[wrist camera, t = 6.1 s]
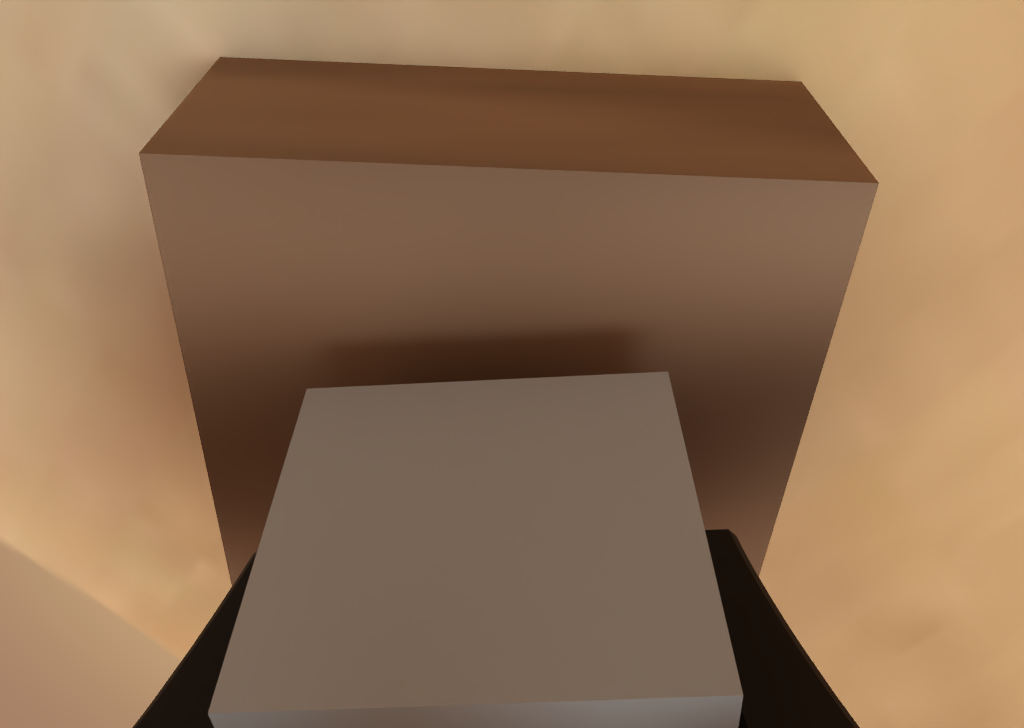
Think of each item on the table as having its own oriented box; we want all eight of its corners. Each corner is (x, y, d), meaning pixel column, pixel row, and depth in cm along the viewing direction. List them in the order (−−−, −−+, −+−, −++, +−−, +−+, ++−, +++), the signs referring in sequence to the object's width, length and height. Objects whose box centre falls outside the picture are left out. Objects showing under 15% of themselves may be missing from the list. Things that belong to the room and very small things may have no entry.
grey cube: (656, 607, 14) (707, 932, 10) (363, 618, 14) (310, 941, 10) (667, 372, 11) (743, 694, 7) (306, 388, 11) (207, 713, 8)
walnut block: (701, 487, 20) (738, 641, 16) (286, 473, 19) (240, 626, 16) (796, 75, 14) (878, 182, 11) (225, 50, 14) (139, 153, 11)
